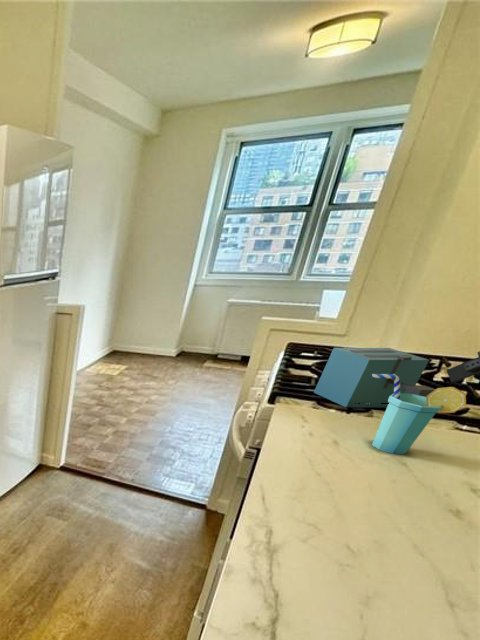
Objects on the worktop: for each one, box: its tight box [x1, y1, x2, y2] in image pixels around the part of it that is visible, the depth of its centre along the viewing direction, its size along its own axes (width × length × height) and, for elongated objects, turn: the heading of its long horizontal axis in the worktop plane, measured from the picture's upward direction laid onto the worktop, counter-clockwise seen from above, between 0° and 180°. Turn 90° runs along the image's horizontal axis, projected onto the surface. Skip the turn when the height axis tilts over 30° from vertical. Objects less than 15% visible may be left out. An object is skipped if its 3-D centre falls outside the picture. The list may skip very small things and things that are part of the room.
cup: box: [371, 374, 467, 455], centre depth 95 cm, size 14×8×15 cm, turn 57°
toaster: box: [313, 347, 430, 408], centre depth 118 cm, size 14×12×13 cm
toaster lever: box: [387, 379, 437, 397], centre depth 110 cm, size 4×9×2 cm, turn 0°
